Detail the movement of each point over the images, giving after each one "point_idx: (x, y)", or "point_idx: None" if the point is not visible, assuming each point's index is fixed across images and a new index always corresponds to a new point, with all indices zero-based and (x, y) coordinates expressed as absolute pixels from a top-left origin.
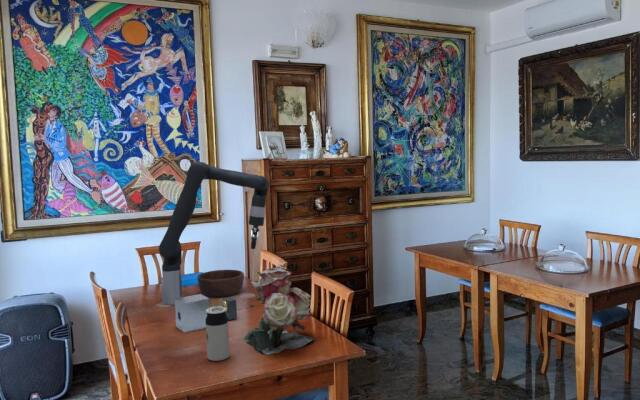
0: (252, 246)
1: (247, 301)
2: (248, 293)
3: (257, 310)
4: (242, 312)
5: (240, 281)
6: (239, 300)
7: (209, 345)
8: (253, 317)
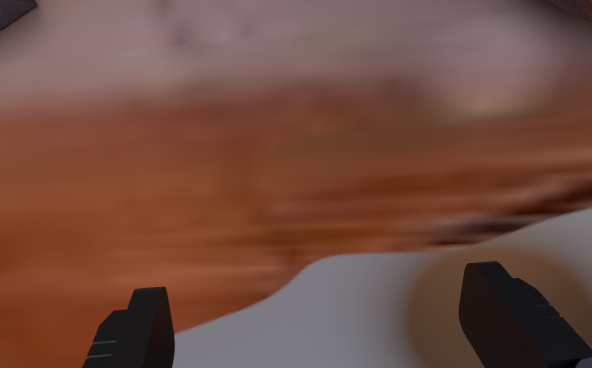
0: (101, 343)
1: (343, 78)
2: (534, 70)
3: (144, 151)
4: (111, 66)
5: (581, 12)
6: (377, 23)
7: None
8: (14, 137)
